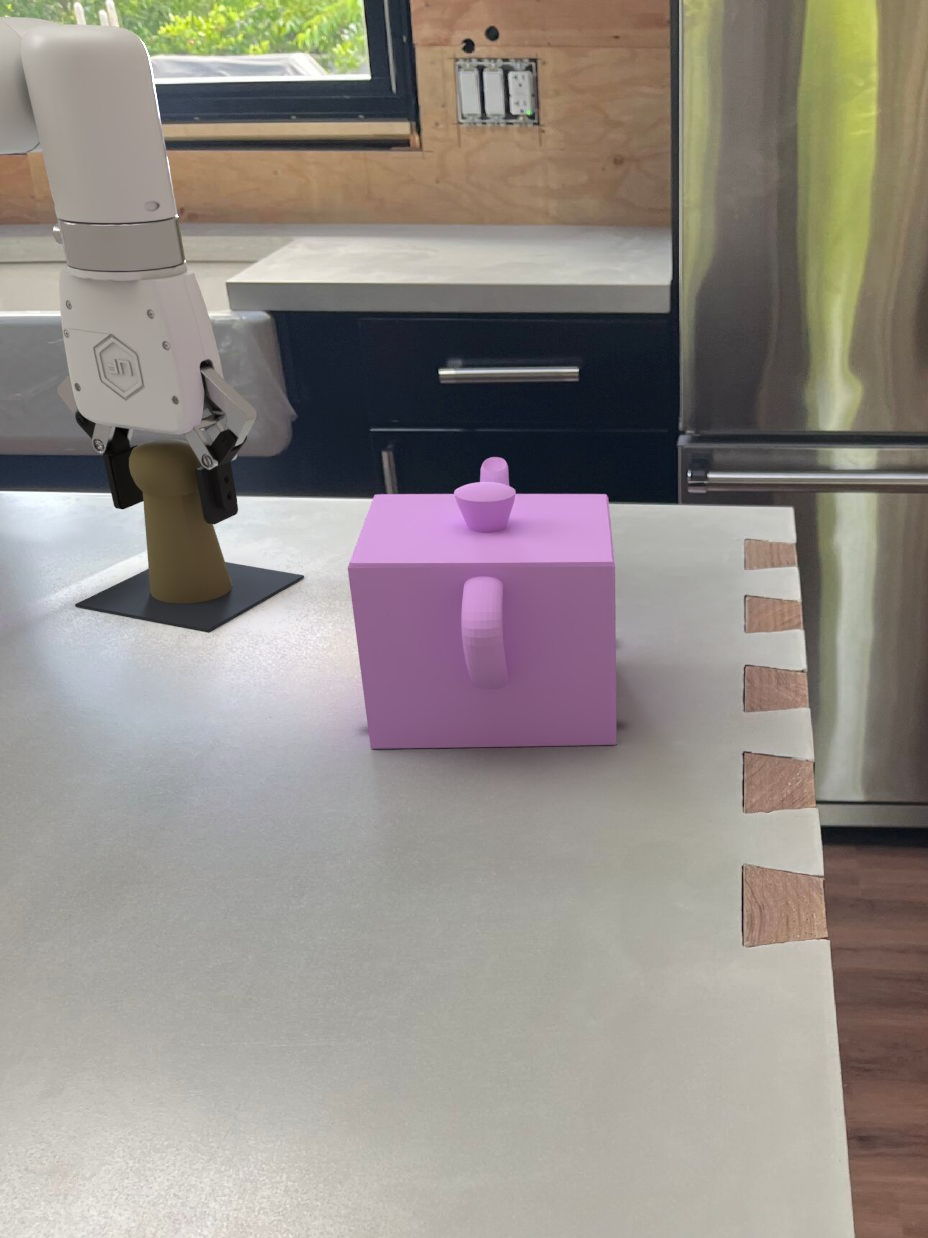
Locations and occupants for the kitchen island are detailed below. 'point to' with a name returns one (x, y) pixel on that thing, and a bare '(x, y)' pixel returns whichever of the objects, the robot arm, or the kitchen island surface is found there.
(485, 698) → the teapot
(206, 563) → the cork
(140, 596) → the mat
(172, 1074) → the kitchen island surface
